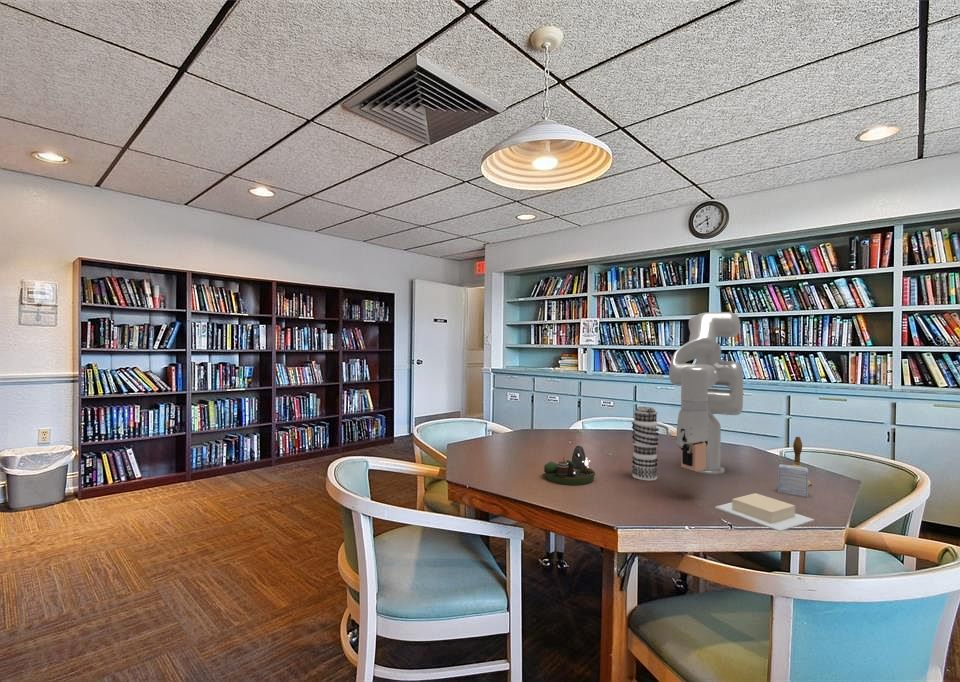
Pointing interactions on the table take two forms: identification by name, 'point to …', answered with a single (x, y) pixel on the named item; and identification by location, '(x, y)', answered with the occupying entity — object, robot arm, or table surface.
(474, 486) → the table surface
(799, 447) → the hand bell
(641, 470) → the black white tall cylinder
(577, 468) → the toy scene
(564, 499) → the table surface
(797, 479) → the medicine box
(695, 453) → the terracotta block
